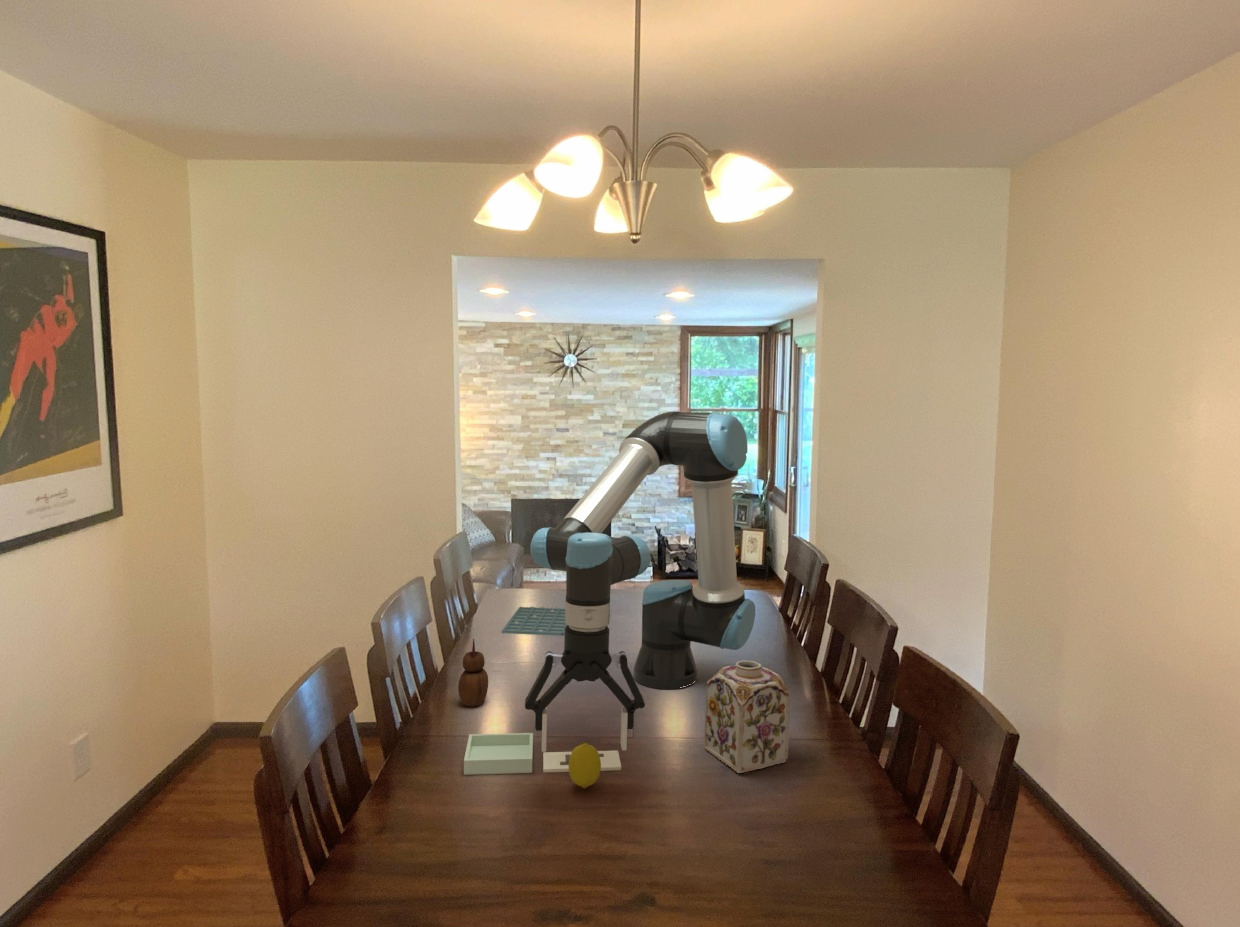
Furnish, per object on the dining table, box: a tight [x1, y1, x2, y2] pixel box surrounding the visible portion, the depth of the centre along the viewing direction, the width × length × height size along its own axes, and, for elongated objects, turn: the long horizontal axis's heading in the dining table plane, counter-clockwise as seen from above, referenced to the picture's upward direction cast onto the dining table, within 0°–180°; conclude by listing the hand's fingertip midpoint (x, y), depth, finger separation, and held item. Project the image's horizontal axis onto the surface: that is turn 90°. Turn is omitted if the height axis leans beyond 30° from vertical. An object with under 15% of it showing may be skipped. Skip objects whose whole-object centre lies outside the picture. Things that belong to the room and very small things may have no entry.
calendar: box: [501, 606, 567, 637], centre depth 228 cm, size 27×29×2 cm
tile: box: [542, 750, 622, 773], centre depth 142 cm, size 14×6×1 cm, turn 96°
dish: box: [463, 732, 534, 776], centre depth 142 cm, size 12×10×3 cm
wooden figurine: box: [457, 638, 489, 708], centre depth 167 cm, size 7×6×15 cm
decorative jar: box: [703, 660, 791, 774], centre depth 145 cm, size 12×12×18 cm
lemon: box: [568, 742, 601, 789], centre depth 133 cm, size 6×6×8 cm
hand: (583, 747), depth 132 cm, fingers open, 13 cm apart
